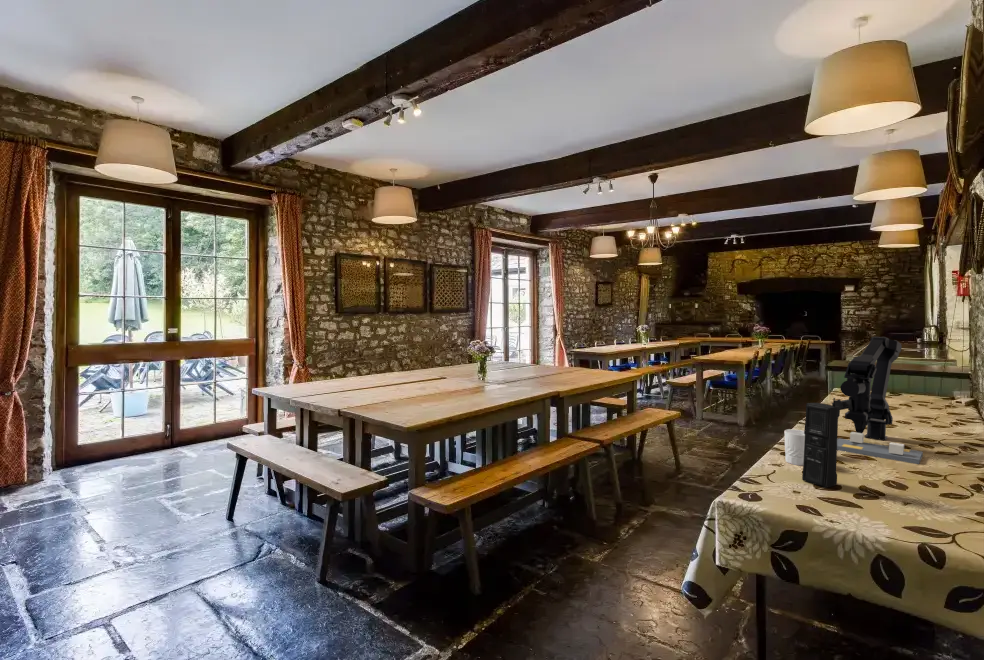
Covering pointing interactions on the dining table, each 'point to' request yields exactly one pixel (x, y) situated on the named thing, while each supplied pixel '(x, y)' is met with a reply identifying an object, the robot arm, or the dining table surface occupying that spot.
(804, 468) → the portable radio
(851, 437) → the slider
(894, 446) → the slider
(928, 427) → the dining table surface
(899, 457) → the switch panel
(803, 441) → the white cup
